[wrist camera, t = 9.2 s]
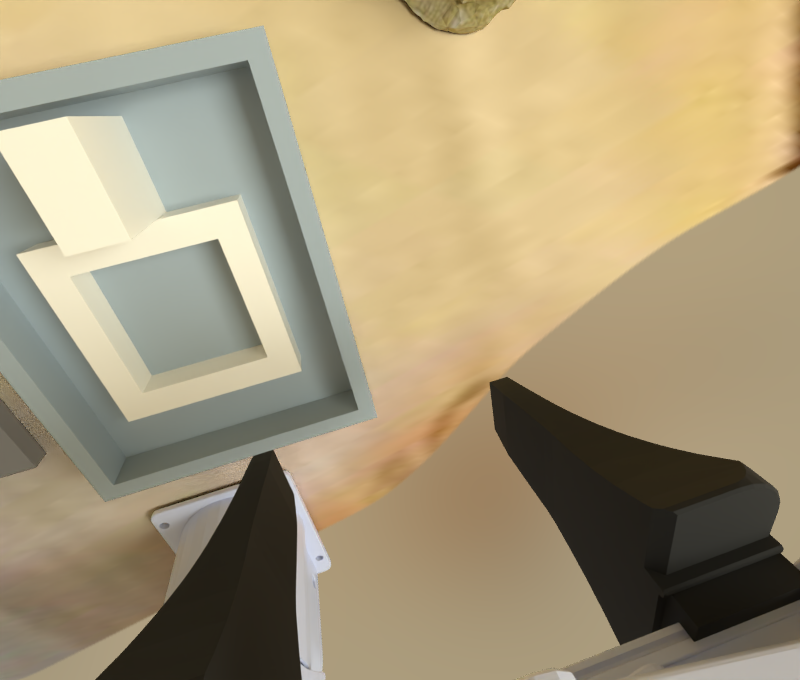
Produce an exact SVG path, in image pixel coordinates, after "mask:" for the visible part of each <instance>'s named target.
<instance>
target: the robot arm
mask: <svg viewBox="0 0 800 680" xmlns="http://www.w3.org/2000/svg"><path fill="white" fill-rule="evenodd" d="M490 390H491V399H492V407H493V416H494V425H495V430H496V432H497V434H498V436H499V438H500V440H501V442H502V444H503V446H504V447H505V449H506V451H507V453H508V455H509V456H510V458H511V459H512V460H513V462H514V463H515V465H516V466H517V467H518V469H519V471H520V472H521V473H522V475H523V476H524V478H525V479H526V480H527V482H528V483H529V485H530V486H531V488H532V489H533V490H534V492H535V493H536V495H537V496H538V497H539V499H540V500H541V502H542V503H543V505H544V506H545V507H546V509H547V510H548V512H549V513H550V515H551V516H552V518H553V520H554V521H555V523H556V524H557V526H558V528H559V530H560V532H561V533H562V535H563V537H564V539H565V540H566V542H567V544H568V546H569V547H570V549H571V551H572V553H573V555H574V557H575V558H576V560H577V562H578V564H579V566H580V568H581V569H582V571H583V573H584V575H585V577H586V578H587V581H588V582H589V584H590V586H591V588H592V590H593V592H594V594H595V596H596V598H597V600H598V602H599V604H600V605H601V607H602V609H603V611H604V613H605V615H606V617H607V619H608V621H609V623H610V625H611V628H612V629H613V632H614V634H615V635H616V638H617V639H618V642H619V643H620V646H617V647H615V648H612V649H610V650H607V651H605V652H602V653H600V654H597V655H594V656H592V657H589V658H587V659H584V660H582V661H579V662H577V663H574V664H572V665H569V666H566V667H564V668H561V669H555V668H550V669H546V670H542V671H538V672H534V673H530V674H528V675H525V676H523V677H520V678H517V679H515V680H800V559H798V560H797V561H796V562H795V563H794V564H792V563H790V561H788V560H787V559H786V558H785V557H784V556H783V555H782V554H781V552H782V551H783V547H782V545H781V544H780V543H779V542H778V541H777V540H775V539H774V538H773V537H772V536H771V535H770V531H771V529H772V526H773V523H774V520H775V518H776V515H777V513H778V509H779V504H780V498H779V494H778V491H777V490H776V489H775V488H774V487H773V486H772V485H771V484H770V483H768V482H767V481H766V480H764V479H763V478H762V477H761V476H759V475H758V474H757V473H755V472H754V471H753V470H751V469H750V468H749V467H747V466H746V465H744V464H743V463H741V462H740V461H736V460H730V459H723V458H718V457H712V456H705V455H700V454H695V453H691V452H686V451H682V450H677V449H673V448H669V447H665V446H661V445H658V444H654V443H650V442H647V441H644V440H640V439H637V438H634V437H631V436H627V435H625V434H622V433H619V432H616V431H614V430H611V429H608V428H606V427H603V426H601V425H598V424H596V423H593V422H591V421H588V420H586V419H584V418H582V417H580V416H578V415H576V414H573V413H571V412H569V411H567V410H565V409H563V408H561V407H559V406H557V405H555V404H554V403H551V402H550V401H548V400H546V399H544V398H543V397H541V396H539V395H537V394H535V393H534V392H532V391H530V390H528V389H527V388H525V387H523V386H522V385H520V384H518V383H517V382H515V381H513V380H511V379H510V378H508V377H505V378H502V379H499V380H496V381H492V382H490ZM151 522H152V524H153V525H154V526H155V528H156V529H157V530H158V532H159V533H160V534H161V536H162V537H163V538H164V540H165V541H166V542H167V544H168V545H169V546H170V548H171V549H172V550H173V552H174V553H175V554H176V557H175V561H174V565H173V569H172V573H171V577H170V581H169V585H168V589H167V593H166V596H165V600H164V604H163V606H162V608H161V609H160V610H159V611H158V613H157V614H156V615H155V616H154V617H153V618H152V620H151V621H150V622H149V623H148V624H147V626H146V627H145V628H144V629H143V630H142V631H141V632H140V634H138V636H137V637H136V638H135V639H134V640H133V641H132V642H131V643H130V644H129V646H128V647H127V648H126V649H125V650H124V651H123V652H122V653H121V654H120V655H119V656H118V657H117V658H116V659H115V660H114V661H113V662H112V663H111V664H110V665H109V666H108V667H107V668H106V669H105V670H104V671H103V672H102V674H100V676H99V677H98V678H96V680H325V673H324V672H322V667H323V653H322V638H321V622H320V607H319V593H318V577H317V574H318V573H321V572H324V571H326V570H328V569H329V568H330V567H331V561H330V558H329V556H328V554H327V552H326V550H325V547H324V545H323V543H322V541H321V539H320V536H319V534H318V532H317V530H316V528H315V526H314V523H313V521H312V519H311V517H310V515H309V513H308V511H307V508H306V506H305V504H304V502H303V500H302V498H301V495H300V493H299V491H298V489H297V487H296V485H295V482H294V480H293V478H292V476H291V474H290V473H289V472H288V471H283V470H282V467H281V465H280V463H279V461H278V459H277V457H276V455H275V453H274V451H273V450H271V451H267V452H264V453H261V454H258V455H255V456H253V458H252V460H251V462H250V464H249V466H248V468H247V470H246V472H245V474H244V476H243V478H242V481H241V483H240V484H237V485H234V486H231V487H228V488H224V489H221V490H218V491H215V492H212V493H209V494H206V495H202V496H199V497H196V498H193V499H190V500H187V501H183V502H180V503H177V504H174V505H171V506H168V507H165V508H161V509H158V510H156V511H154V512H153V514H152V517H151ZM165 523H166V524H165Z"/></svg>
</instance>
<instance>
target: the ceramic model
mask: <svg viewBox="0 0 800 680" xmlns="http://www.w3.org/2000/svg"><path fill="white" fill-rule="evenodd" d="M404 1H406V2H407V4H408V5H409V6H410V8H411V9H412V11H413V12H414V13H416V14H417V15H418V16H420V17H421V18H422V20H423V21H426V22H427V23H429V24H430V25H431V26H433V27H434V28H436V29H438V30H444V31H446V32H447V31H450V32H452V33H458V34H465V33H466V34H469V33H472V32H475V31H478V30H482V29H483V28H484V27H485V26H486V25H488V24H489V23H490V21H491V20H492V18H493V17H494V16H495V15H496V14H497V13H499V12H500V11H501V10H504V9H509V8H510V7H511V5H512V4H513V3H514V2H515V0H404Z"/></svg>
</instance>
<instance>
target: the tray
mask: <svg viewBox="0 0 800 680" xmlns="http://www.w3.org/2000/svg"><path fill="white" fill-rule="evenodd" d="M66 116H122V118H123V120H124V122H125V124H126V126H127V128H128V131H129V133H130V135H131V137H132V139H133V141H134V143H135V146H136V148H137V150H138V152H139V154H140V156H141V158H142V161H143V163H144V165H145V167H146V169H147V171H148V173H149V176H150V178H151V180H152V182H153V184H154V186H155V188H156V191H157V193H158V195H159V197H160V199H161V201H162V204H163V206H164V208H165V210H166V212H169V211H173V210H177V209H181V208H185V207H189V206H193V205H197V204H201V203H205V202H210V201H214V200H218V199H222V198H226V197H230V196H234V195H238V194H241V196H242V199H243V202H244V204H245V207H246V210H247V213H248V215H249V218H250V221H251V223H252V226H253V229H254V231H255V234H256V237H257V239H258V242H259V245H260V247H261V250H262V253H263V256H264V258H265V261H266V264H267V266H268V269H269V272H270V274H271V277H272V280H273V282H274V285H275V288H276V290H277V293H278V296H279V299H280V301H281V304H282V307H283V309H284V312H285V315H286V317H287V320H288V323H289V325H290V328H291V331H292V333H293V336H294V339H295V341H296V344H297V347H298V350H299V352H300V355H301V368H302V371H300V372H297V373H294V374H290V375H287V376H283V377H280V378H277V379H273V380H270V381H266V382H263V383H260V384H256V385H253V386H249V387H246V388H243V389H239V390H236V391H232V392H229V393H226V394H222V395H219V396H215V397H212V398H209V399H205V400H202V401H198V402H195V403H191V404H188V405H185V406H181V407H178V408H174V409H171V410H168V411H164V412H161V413H157V414H154V415H151V416H147V417H144V418H140V419H137V420H134V421H130V422H128V420H127V419H126V417H125V416H124V414H123V413H122V411H121V410H120V408H119V407H118V405H117V404H116V402H115V401H114V399H113V398H112V397H111V395H110V394H109V392H108V391H107V389H106V388H105V386H104V385H103V383H102V382H101V380H100V379H99V377H98V376H97V374H96V373H95V371H94V370H93V368H92V367H91V365H90V364H89V362H88V361H87V359H86V358H85V356H84V355H83V353H82V352H81V350H80V349H79V348H78V346H77V345H76V343H75V342H74V340H73V339H72V337H71V336H70V334H69V333H68V331H67V330H66V328H65V327H64V325H63V324H62V322H61V321H60V319H59V318H58V316H57V315H56V313H55V312H54V310H53V309H52V307H51V306H50V304H49V303H48V301H47V300H46V299H45V297H44V296H43V294H42V293H41V291H40V290H39V288H38V287H37V285H36V284H35V282H34V281H33V279H32V278H31V276H30V275H29V273H28V272H27V270H26V269H25V267H24V266H23V264H22V263H21V261H20V260H19V258H18V257H17V254H18V253H20V252H22V251H24V250H26V249H28V248H30V247H32V246H34V245H36V244H39V243H43V242H47V241H51V240H54V238H53V236H52V235H51V233H50V231H49V230H48V228H47V227H46V225H45V223H44V222H43V220H42V218H41V217H40V215H39V214H38V212H37V210H36V209H35V207H34V205H33V204H32V202H31V201H30V199H29V197H28V196H27V194H26V192H25V191H24V189H23V188H22V186H21V184H20V183H19V181H18V179H17V178H16V176H15V175H14V173H13V171H12V170H11V168H10V166H9V165H8V163H7V162H6V160H5V158H4V157H3V155H2V153H1V152H0V373H1V374H2V375H3V376H4V377H5V379H6V380H7V381H8V382H9V384H10V385H11V386H12V387H13V389H14V390H15V391H16V392H17V394H18V395H19V396H20V397H21V398H22V400H23V401H24V402H25V403H26V405H27V406H28V407H29V408H30V410H31V411H32V412H33V413H34V415H35V416H36V417H37V418H38V420H39V421H40V422H41V423H42V424H43V426H44V427H45V428H46V429H47V431H48V432H49V433H50V434H51V436H52V437H53V438H54V439H55V441H56V442H57V443H58V444H59V445H60V447H61V448H62V449H63V450H64V452H65V453H66V454H67V455H68V457H69V458H70V459H71V460H72V462H73V463H74V464H75V465H76V467H77V468H78V469H79V470H80V471H81V473H82V474H83V475H84V476H85V478H86V479H87V480H88V481H89V483H90V484H91V485H92V486H93V488H94V489H95V490H96V491H97V492H98V494H99V495H100V496H101V497H102V499H103V500H104V501H105V502H107V501H110V500H113V499H116V498H120V497H123V496H126V495H129V494H132V493H136V492H139V491H142V490H145V489H148V488H152V487H155V486H158V485H161V484H165V483H168V482H171V481H174V480H177V479H181V478H184V477H187V476H190V475H193V474H197V473H200V472H203V471H206V470H210V469H213V468H216V467H219V466H222V465H226V464H229V463H232V462H235V461H238V460H242V459H245V458H248V457H251V456H255V455H258V454H261V453H264V452H267V451H271V450H274V449H277V448H280V447H283V446H287V445H290V444H293V443H296V442H300V441H303V440H306V439H309V438H312V437H316V436H319V435H322V434H325V433H328V432H332V431H335V430H338V429H341V428H345V427H348V426H351V425H354V424H357V423H361V422H364V421H367V420H370V419H373V418H377V414H376V411H375V407H374V404H373V400H372V397H371V394H370V390H369V387H368V383H367V380H366V376H365V373H364V370H363V366H362V363H361V359H360V356H359V352H358V349H357V345H356V342H355V339H354V335H353V332H352V328H351V325H350V321H349V318H348V315H347V311H346V308H345V304H344V301H343V297H342V294H341V290H340V287H339V284H338V280H337V277H336V273H335V270H334V266H333V263H332V260H331V256H330V253H329V249H328V246H327V242H326V239H325V235H324V232H323V229H322V225H321V222H320V218H319V215H318V211H317V208H316V205H315V201H314V198H313V194H312V191H311V187H310V184H309V180H308V177H307V174H306V170H305V167H304V163H303V160H302V156H301V153H300V150H299V146H298V143H297V139H296V136H295V132H294V129H293V125H292V122H291V119H290V115H289V112H288V108H287V105H286V101H285V98H284V95H283V91H282V88H281V84H280V81H279V77H278V74H277V70H276V67H275V64H274V60H273V57H272V53H271V50H270V46H269V43H268V40H267V36H266V33H265V29H264V26H259V27H255V28H250V29H245V30H240V31H235V32H230V33H225V34H221V35H216V36H211V37H206V38H201V39H196V40H192V41H187V42H182V43H177V44H172V45H167V46H162V47H158V48H153V49H148V50H143V51H138V52H133V53H129V54H124V55H119V56H114V57H109V58H104V59H100V60H95V61H90V62H85V63H80V64H75V65H70V66H66V67H61V68H56V69H51V70H46V71H41V72H37V73H32V74H27V75H22V76H17V77H12V78H7V79H3V80H0V131H2V130H6V129H11V128H15V127H20V126H25V125H29V124H34V123H38V122H43V121H48V120H52V119H57V118H61V117H66ZM90 273H91V274H92V276H93V278H94V279H95V281H96V283H97V284H98V286H99V288H100V289H101V291H102V293H103V294H104V296H105V298H106V299H107V301H108V303H109V305H110V306H111V308H112V310H113V311H114V313H115V315H116V316H117V318H118V320H119V321H120V323H121V325H122V326H123V328H124V330H125V331H126V333H127V335H128V336H129V338H130V340H131V341H132V343H133V345H134V346H135V348H136V350H137V352H138V353H139V355H140V357H141V358H142V360H143V362H144V363H145V365H146V367H147V368H148V370H149V372H150V373H151V375H156V374H159V373H163V372H166V371H170V370H173V369H177V368H180V367H184V366H187V365H191V364H194V363H198V362H201V361H205V360H208V359H212V358H215V357H219V356H222V355H226V354H229V353H233V352H236V351H240V350H243V349H247V348H251V347H254V346H258V345H261V344H262V342H261V340H260V338H259V335H258V333H257V330H256V328H255V326H254V323H253V321H252V319H251V316H250V314H249V311H248V309H247V307H246V304H245V302H244V299H243V297H242V295H241V292H240V290H239V287H238V285H237V283H236V280H235V278H234V276H233V273H232V271H231V268H230V266H229V264H228V261H227V259H226V256H225V254H224V252H223V249H222V247H221V245H220V242H219V240H218V239H215V240H211V241H207V242H203V243H199V244H195V245H191V246H187V247H184V248H180V249H176V250H172V251H168V252H164V253H160V254H156V255H152V256H148V257H144V258H141V259H137V260H133V261H129V262H125V263H121V264H117V265H113V266H109V267H105V268H101V269H97V270H94V271H90Z"/></svg>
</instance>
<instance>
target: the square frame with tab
mask: <svg viewBox="0 0 800 680" xmlns="http://www.w3.org/2000/svg"><path fill="white" fill-rule="evenodd" d="M0 152H1V153H2V155H3V157H4V158H5V160H6V162H7V163H8V165H9V166H10V168H11V170H12V171H13V173H14V175H15V176H16V178H17V179H18V181H19V183H20V184H21V186H22V188H23V189H24V191H25V192H26V194H27V196H28V197H29V199H30V201H31V202H32V204H33V205H34V207H35V209H36V210H37V212H38V214H39V215H40V217H41V218H42V220H43V222H44V223H45V225H46V227H47V228H48V230H49V231H50V233H51V235H52V236H53V238H54V240H51V241H47V242H43V243H39V244H36V245H34V246H32V247H30V248H28V249H26V250H24V251H22V252H20V253H18V254H17V257H18V258H19V260H20V261H21V263H22V264H23V266H24V267H25V269H26V270H27V272H28V273H29V275H30V276H31V278H32V279H33V281H34V282H35V284H36V285H37V287H38V288H39V290H40V291H41V293H42V294H43V296H44V297H45V299H46V300H47V301H48V303H49V304H50V306H51V307H52V309H53V310H54V312H55V313H56V315H57V316H58V318H59V319H60V321H61V322H62V324H63V325H64V327H65V328H66V330H67V331H68V333H69V334H70V336H71V337H72V339H73V340H74V342H75V343H76V345H77V346H78V348H79V349H80V350H81V352H82V353H83V355H84V356H85V358H86V359H87V361H88V362H89V364H90V365H91V367H92V368H93V370H94V371H95V373H96V374H97V376H98V377H99V379H100V380H101V382H102V383H103V385H104V386H105V388H106V389H107V391H108V392H109V394H110V395H111V397H112V398H113V399H114V401H115V402H116V404H117V405H118V407H119V408H120V410H121V411H122V413H123V414H124V416H125V417H126V419H127V420H128V422H130V421H134V420H137V419H140V418H144V417H147V416H151V415H154V414H157V413H161V412H164V411H168V410H171V409H174V408H178V407H181V406H185V405H188V404H191V403H195V402H198V401H202V400H205V399H209V398H212V397H215V396H219V395H222V394H226V393H229V392H232V391H236V390H239V389H243V388H246V387H249V386H253V385H256V384H260V383H263V382H266V381H270V380H273V379H277V378H280V377H283V376H287V375H290V374H294V373H297V372H300V371H302V368H301V355H300V352H299V350H298V347H297V344H296V341H295V339H294V336H293V333H292V331H291V328H290V325H289V323H288V320H287V317H286V315H285V312H284V309H283V307H282V304H281V301H280V299H279V296H278V293H277V290H276V288H275V285H274V282H273V280H272V277H271V274H270V272H269V269H268V266H267V264H266V261H265V258H264V256H263V253H262V250H261V247H260V245H259V242H258V239H257V237H256V234H255V231H254V229H253V226H252V223H251V221H250V218H249V215H248V213H247V210H246V207H245V204H244V202H243V199H242V196H241V194H238V195H234V196H230V197H226V198H222V199H218V200H214V201H210V202H205V203H201V204H197V205H193V206H189V207H185V208H181V209H177V210H173V211H169V212H166V210H165V208H164V206H163V204H162V201H161V199H160V197H159V195H158V193H157V191H156V188H155V186H154V184H153V182H152V180H151V178H150V176H149V173H148V171H147V169H146V167H145V165H144V163H143V161H142V158H141V156H140V154H139V152H138V150H137V148H136V146H135V143H134V141H133V139H132V137H131V135H130V133H129V131H128V128H127V126H126V124H125V122H124V120H123V118H122V116H66V117H61V118H57V119H52V120H48V121H43V122H38V123H34V124H29V125H25V126H20V127H15V128H11V129H6V130H2V131H0ZM215 239H218V240H219V242H220V245H221V247H222V249H223V252H224V254H225V256H226V259H227V261H228V264H229V266H230V268H231V271H232V273H233V276H234V278H235V280H236V283H237V285H238V287H239V290H240V292H241V295H242V297H243V299H244V302H245V304H246V307H247V309H248V311H249V314H250V316H251V319H252V321H253V323H254V326H255V328H256V330H257V333H258V335H259V338H260V340H261V342H262V344H261V345H258V346H254V347H251V348H247V349H243V350H240V351H236V352H233V353H229V354H226V355H222V356H219V357H215V358H212V359H208V360H205V361H201V362H198V363H194V364H191V365H187V366H184V367H180V368H177V369H173V370H170V371H166V372H163V373H159V374H156V375H151V373H150V372H149V370H148V368H147V367H146V365H145V363H144V362H143V360H142V358H141V357H140V355H139V353H138V352H137V350H136V348H135V346H134V345H133V343H132V341H131V340H130V338H129V336H128V335H127V333H126V331H125V330H124V328H123V326H122V325H121V323H120V321H119V320H118V318H117V316H116V315H115V313H114V311H113V310H112V308H111V306H110V305H109V303H108V301H107V299H106V298H105V296H104V294H103V293H102V291H101V289H100V288H99V286H98V284H97V283H96V281H95V279H94V278H93V276H92V274H91V273H90V271H94V270H97V269H101V268H105V267H109V266H113V265H117V264H121V263H125V262H129V261H133V260H137V259H141V258H144V257H148V256H152V255H156V254H160V253H164V252H168V251H172V250H176V249H180V248H184V247H187V246H191V245H195V244H199V243H203V242H207V241H211V240H215Z"/></svg>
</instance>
